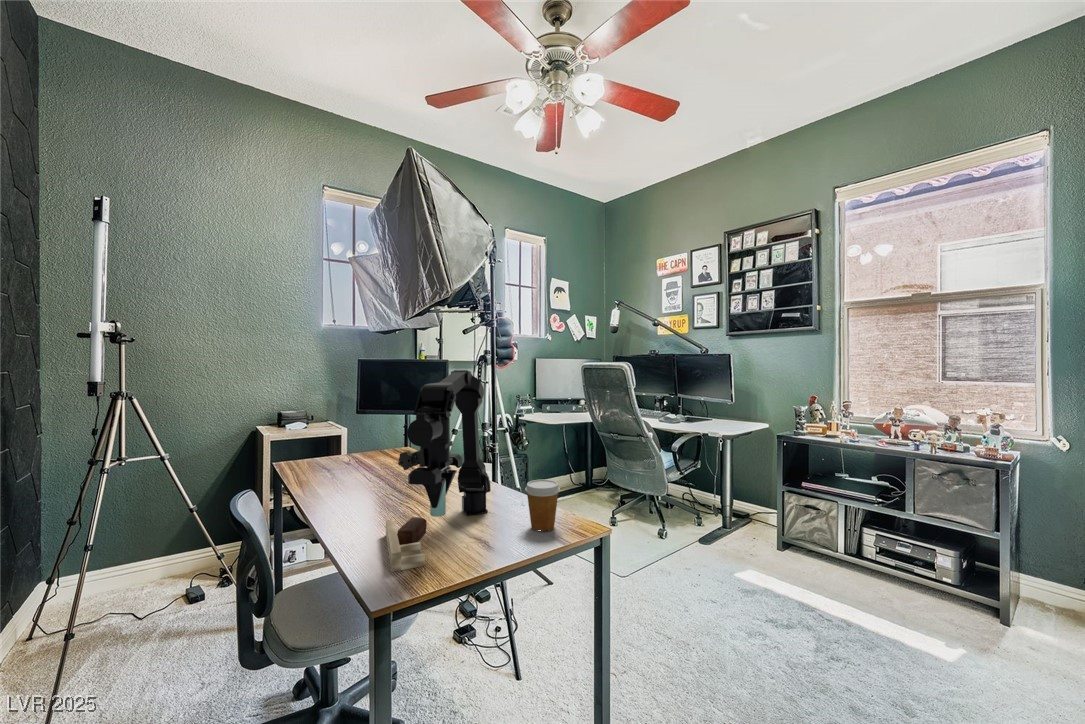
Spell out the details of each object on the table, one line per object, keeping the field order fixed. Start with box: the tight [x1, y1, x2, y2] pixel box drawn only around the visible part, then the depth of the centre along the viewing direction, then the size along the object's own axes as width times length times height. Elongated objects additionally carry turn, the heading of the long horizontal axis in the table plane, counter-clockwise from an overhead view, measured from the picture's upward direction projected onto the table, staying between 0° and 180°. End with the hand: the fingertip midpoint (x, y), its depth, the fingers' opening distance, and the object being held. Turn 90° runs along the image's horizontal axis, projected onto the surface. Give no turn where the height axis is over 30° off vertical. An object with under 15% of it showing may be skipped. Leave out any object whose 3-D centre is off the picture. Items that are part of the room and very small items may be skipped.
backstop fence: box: [385, 518, 426, 573], centre depth 107 cm, size 7×22×4 cm, turn 23°
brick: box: [397, 516, 428, 545], centre depth 112 cm, size 11×4×5 cm, turn 176°
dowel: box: [429, 478, 447, 518], centre depth 102 cm, size 4×4×8 cm
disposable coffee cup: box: [524, 479, 561, 532], centre depth 120 cm, size 10×10×12 cm
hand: (437, 505), depth 102 cm, fingers closed on dowel, 3 cm apart
